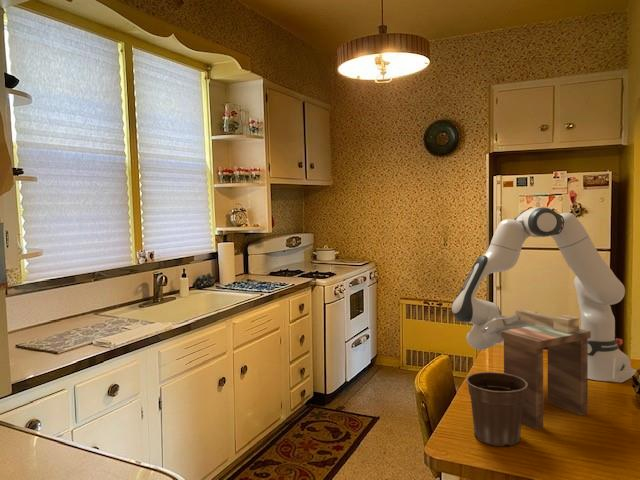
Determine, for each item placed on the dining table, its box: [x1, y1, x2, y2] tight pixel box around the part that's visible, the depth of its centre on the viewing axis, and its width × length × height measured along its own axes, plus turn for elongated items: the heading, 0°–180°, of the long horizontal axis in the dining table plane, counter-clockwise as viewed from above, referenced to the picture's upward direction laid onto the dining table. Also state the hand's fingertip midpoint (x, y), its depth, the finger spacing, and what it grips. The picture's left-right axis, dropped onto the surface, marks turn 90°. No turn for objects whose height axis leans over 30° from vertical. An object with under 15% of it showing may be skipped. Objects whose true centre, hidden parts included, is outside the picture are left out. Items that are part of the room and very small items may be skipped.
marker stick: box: [514, 309, 580, 333], centre depth 157 cm, size 5×21×4 cm, turn 25°
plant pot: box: [465, 371, 528, 447], centre depth 137 cm, size 16×16×16 cm
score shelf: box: [501, 324, 591, 430], centre depth 151 cm, size 22×14×26 cm, turn 115°
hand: (527, 315), depth 163 cm, fingers open, 7 cm apart
